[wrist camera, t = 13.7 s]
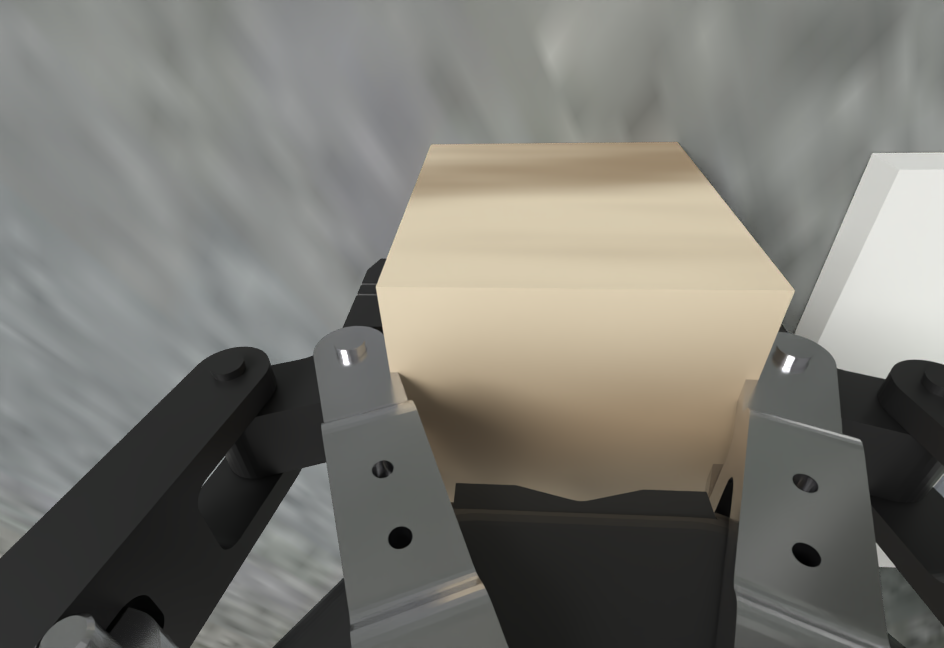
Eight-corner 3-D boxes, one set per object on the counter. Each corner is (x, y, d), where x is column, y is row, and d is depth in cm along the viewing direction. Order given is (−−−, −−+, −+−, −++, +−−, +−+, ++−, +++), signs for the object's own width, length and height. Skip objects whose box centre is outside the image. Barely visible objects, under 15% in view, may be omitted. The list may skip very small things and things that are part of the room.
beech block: (430, 144, 12) (376, 286, 7) (677, 142, 11) (795, 290, 7) (445, 334, 15) (414, 518, 10) (637, 336, 15) (696, 529, 10)
